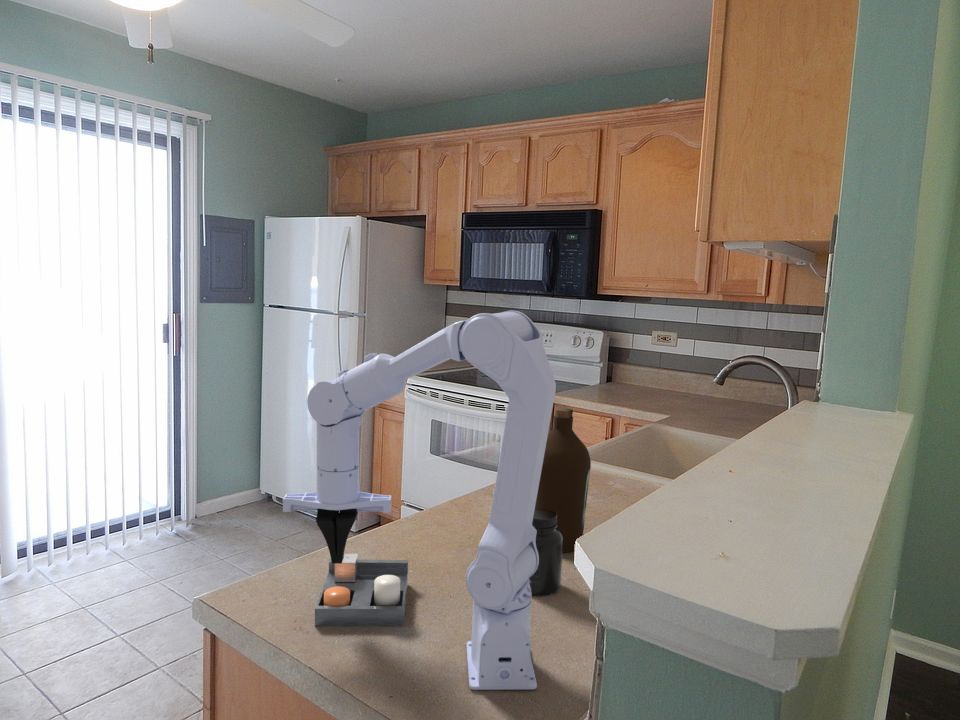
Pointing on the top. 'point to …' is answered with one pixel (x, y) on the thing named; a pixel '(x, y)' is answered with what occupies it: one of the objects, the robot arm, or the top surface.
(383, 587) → the ivory button
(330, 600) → the orange button
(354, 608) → the panel
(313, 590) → the top surface
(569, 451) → the olive oil
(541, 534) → the supplement bottle
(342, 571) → the slider knob
